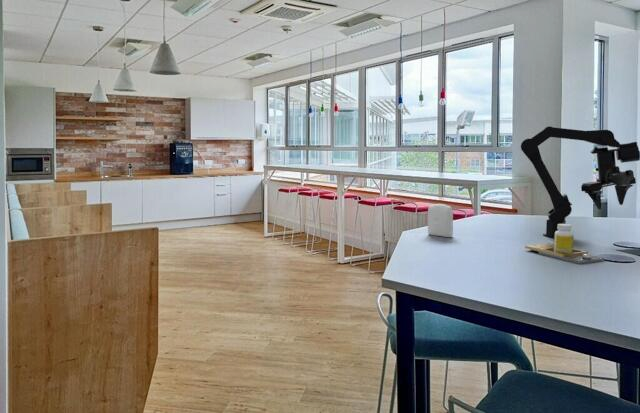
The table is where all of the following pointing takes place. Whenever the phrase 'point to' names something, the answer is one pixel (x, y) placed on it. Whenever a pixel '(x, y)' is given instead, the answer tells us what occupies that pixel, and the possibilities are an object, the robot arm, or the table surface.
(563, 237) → the supplement bottle
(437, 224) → the photo printer
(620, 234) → the table surface
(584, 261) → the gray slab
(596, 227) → the table surface
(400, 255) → the table surface
